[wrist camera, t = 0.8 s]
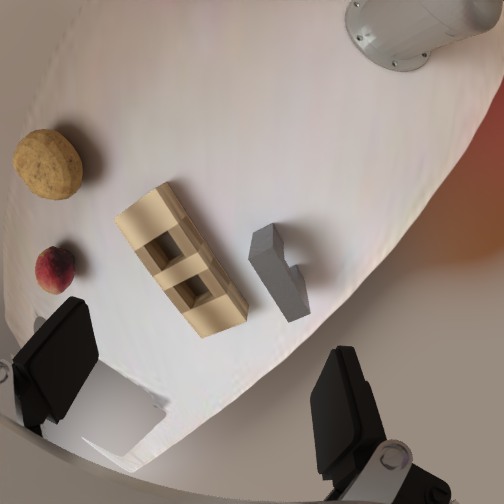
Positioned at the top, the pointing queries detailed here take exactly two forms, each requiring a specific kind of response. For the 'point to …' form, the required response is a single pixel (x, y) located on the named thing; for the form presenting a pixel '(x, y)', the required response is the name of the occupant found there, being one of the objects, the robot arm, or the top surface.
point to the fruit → (54, 270)
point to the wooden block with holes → (182, 262)
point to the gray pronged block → (279, 273)
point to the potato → (48, 164)
